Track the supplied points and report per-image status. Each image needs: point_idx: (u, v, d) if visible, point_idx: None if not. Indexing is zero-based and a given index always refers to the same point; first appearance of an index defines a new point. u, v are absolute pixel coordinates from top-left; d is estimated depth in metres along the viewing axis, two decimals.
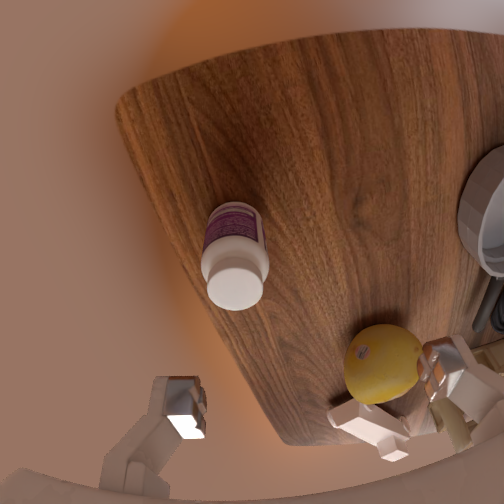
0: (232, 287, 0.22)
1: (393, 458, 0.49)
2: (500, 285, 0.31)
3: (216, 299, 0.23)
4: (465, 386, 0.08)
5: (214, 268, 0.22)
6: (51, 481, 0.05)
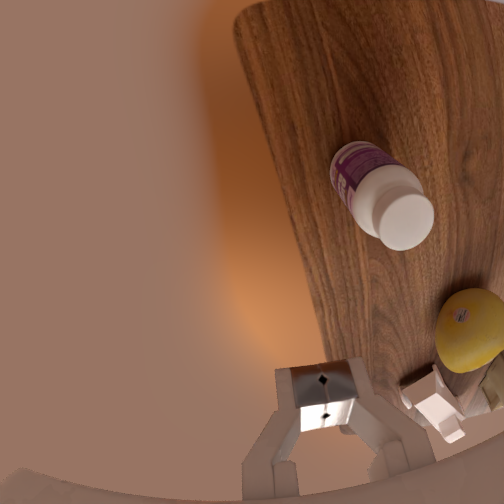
0: (407, 219, 0.17)
1: (452, 439, 0.44)
2: None
3: (386, 235, 0.18)
4: (359, 417, 0.08)
5: (388, 196, 0.17)
6: (51, 481, 0.05)
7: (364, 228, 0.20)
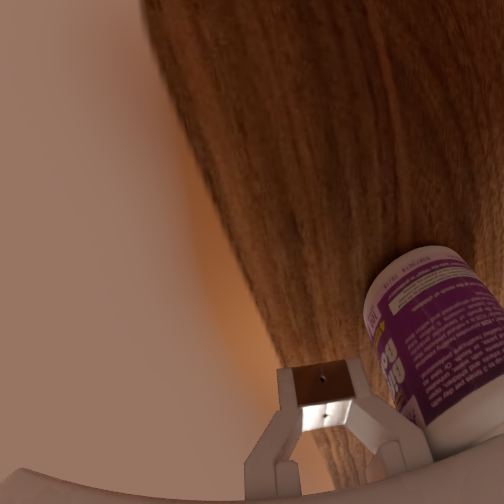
0: None
1: None
2: None
3: None
4: (356, 417, 0.08)
5: None
6: (51, 481, 0.05)
7: None
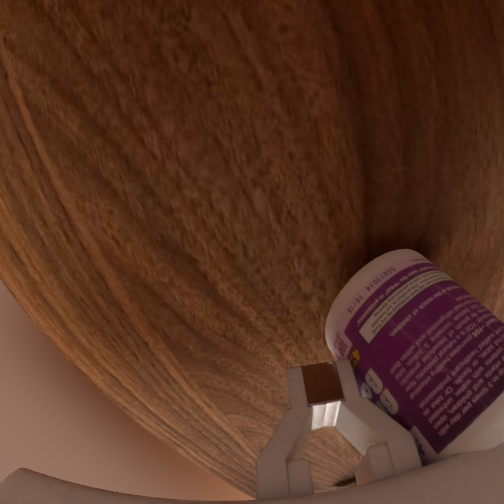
0: None
1: None
2: None
3: None
4: (346, 419, 0.08)
5: None
6: (51, 481, 0.05)
7: None
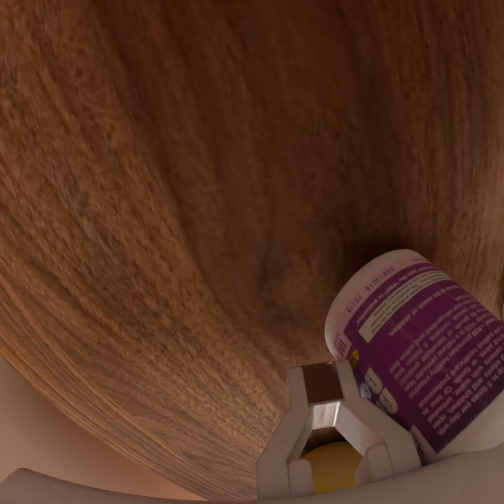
0: None
1: None
2: None
3: None
4: (345, 420, 0.08)
5: None
6: (51, 481, 0.05)
7: None
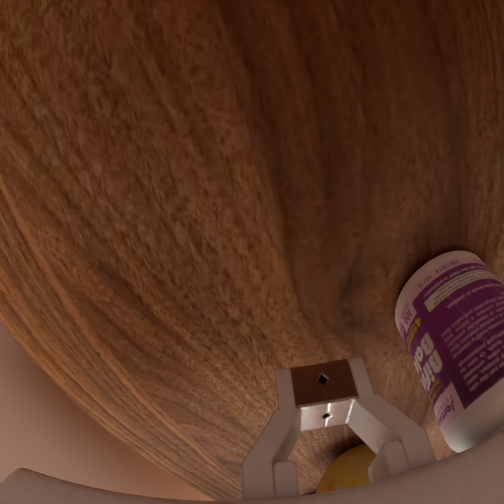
0: None
1: None
2: None
3: None
4: (359, 417, 0.08)
5: None
6: (51, 481, 0.05)
7: (454, 450, 0.08)
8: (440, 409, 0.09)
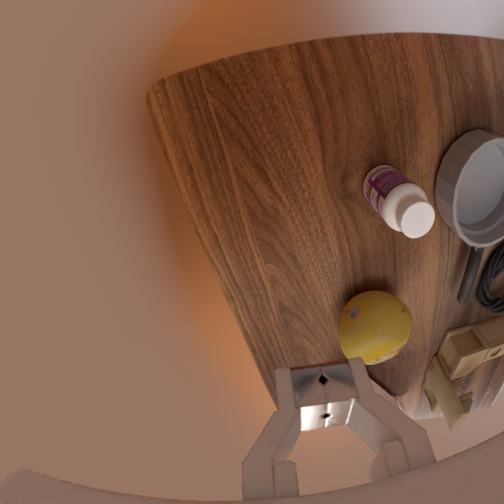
0: (418, 217, 0.27)
1: None
2: (479, 256, 0.36)
3: (404, 227, 0.28)
4: (359, 417, 0.08)
5: (407, 202, 0.27)
6: (51, 481, 0.05)
7: (389, 223, 0.30)
8: (379, 207, 0.31)
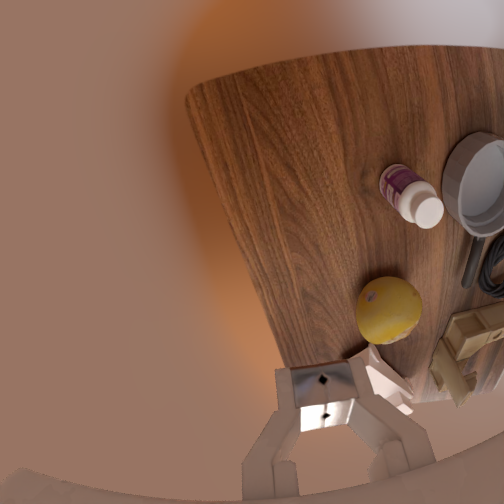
0: (429, 210, 0.31)
1: None
2: (481, 245, 0.40)
3: (418, 219, 0.32)
4: (359, 417, 0.08)
5: (420, 198, 0.31)
6: (51, 481, 0.05)
7: (404, 216, 0.34)
8: (395, 202, 0.35)
